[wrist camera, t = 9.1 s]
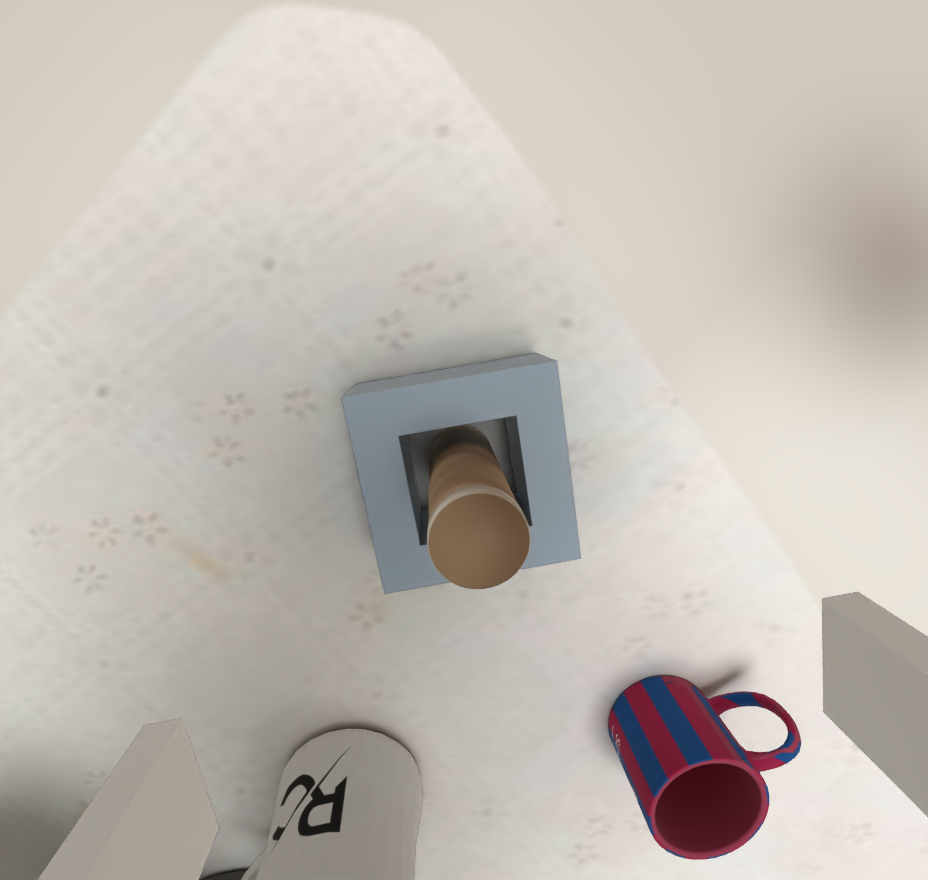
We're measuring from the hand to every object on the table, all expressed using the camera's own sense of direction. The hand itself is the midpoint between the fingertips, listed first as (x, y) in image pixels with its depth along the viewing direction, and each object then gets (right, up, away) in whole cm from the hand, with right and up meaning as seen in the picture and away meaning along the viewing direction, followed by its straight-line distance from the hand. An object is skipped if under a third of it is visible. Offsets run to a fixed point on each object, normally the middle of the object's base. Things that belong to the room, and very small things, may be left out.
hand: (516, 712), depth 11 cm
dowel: (-1, +5, +20) cm, 20 cm away
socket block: (-1, +5, +20) cm, 20 cm away
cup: (+13, -12, +25) cm, 31 cm away
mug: (-10, -17, +25) cm, 32 cm away
